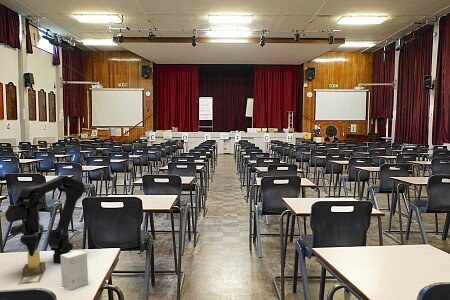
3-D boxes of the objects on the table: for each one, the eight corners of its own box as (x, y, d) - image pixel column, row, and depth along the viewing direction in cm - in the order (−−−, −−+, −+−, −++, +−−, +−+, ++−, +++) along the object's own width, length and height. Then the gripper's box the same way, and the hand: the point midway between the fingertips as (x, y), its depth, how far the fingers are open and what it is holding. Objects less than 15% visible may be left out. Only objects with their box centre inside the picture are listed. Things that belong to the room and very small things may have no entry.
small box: (80, 280, 169) (78, 249, 168) (88, 284, 165) (87, 252, 164) (61, 286, 163) (60, 254, 162) (69, 290, 159) (68, 257, 158)
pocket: (45, 268, 182) (45, 261, 181) (42, 274, 174) (42, 267, 174) (26, 270, 179) (26, 263, 179) (22, 276, 172) (22, 269, 172)
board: (46, 270, 182) (45, 267, 182) (39, 284, 165) (39, 281, 165) (26, 272, 180) (26, 269, 180) (17, 287, 163) (17, 283, 163)
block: (40, 270, 179) (39, 249, 179) (38, 273, 175) (37, 252, 175) (30, 271, 178) (29, 250, 178) (28, 274, 174) (27, 253, 174)
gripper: (15, 213, 182) (17, 248, 183) (5, 223, 164) (7, 261, 165) (43, 211, 185) (44, 245, 186) (35, 221, 167) (37, 258, 168)
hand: (33, 252), depth 176 cm, fingers open, 9 cm apart
